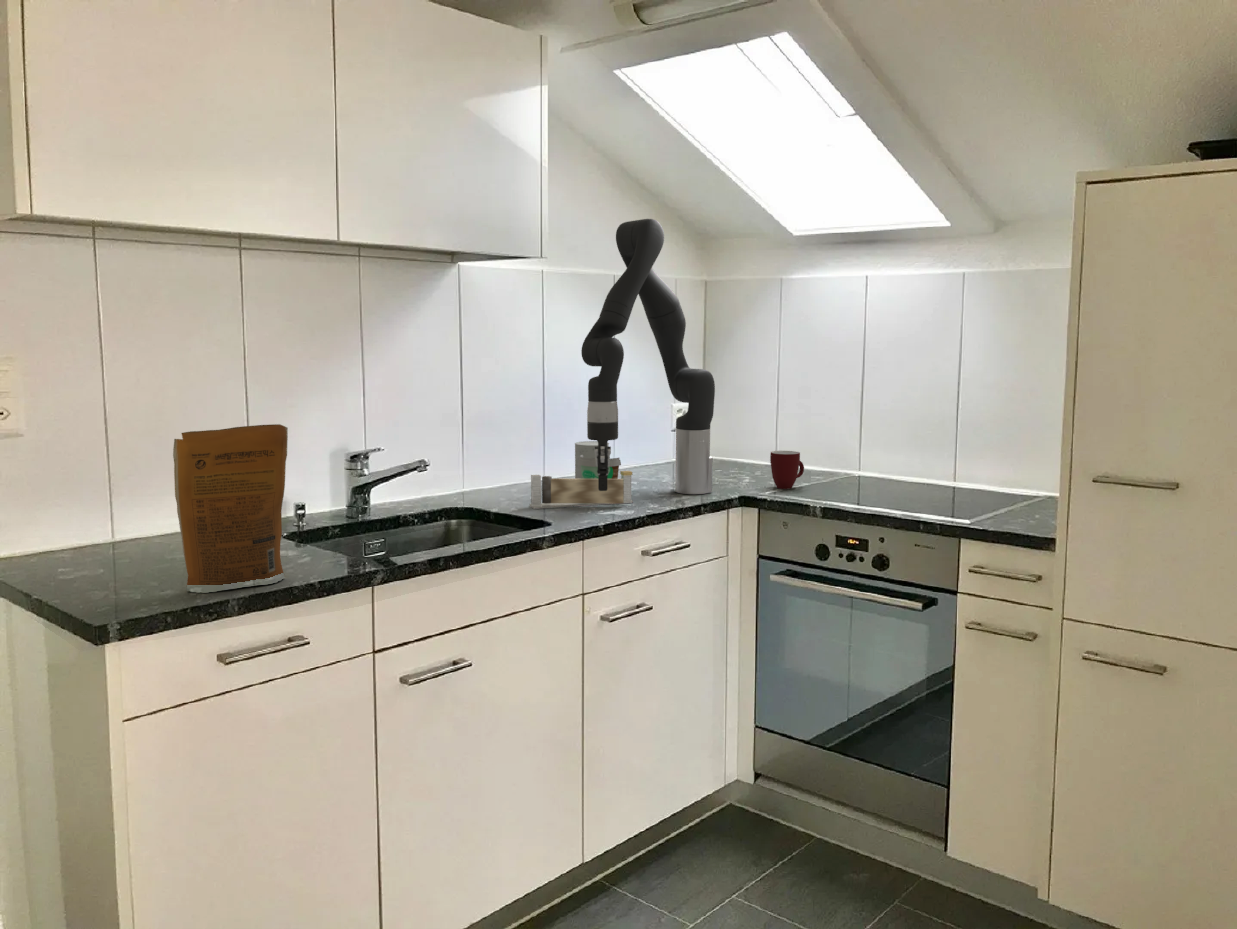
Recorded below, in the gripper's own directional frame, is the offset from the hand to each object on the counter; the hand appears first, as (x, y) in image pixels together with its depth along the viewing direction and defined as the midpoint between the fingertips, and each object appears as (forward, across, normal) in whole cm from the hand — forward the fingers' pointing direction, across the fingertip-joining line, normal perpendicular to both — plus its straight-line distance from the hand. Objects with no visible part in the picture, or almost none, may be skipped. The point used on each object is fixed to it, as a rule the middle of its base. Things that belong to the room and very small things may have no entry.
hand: (602, 490), depth 245 cm
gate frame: (+4, +6, +5) cm, 9 cm away
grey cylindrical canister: (+4, +33, +4) cm, 34 cm away
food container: (+4, +21, +2) cm, 22 cm away
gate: (+4, +3, +5) cm, 7 cm away
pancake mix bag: (+6, -74, +62) cm, 96 cm away
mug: (+4, +32, -51) cm, 60 cm away
